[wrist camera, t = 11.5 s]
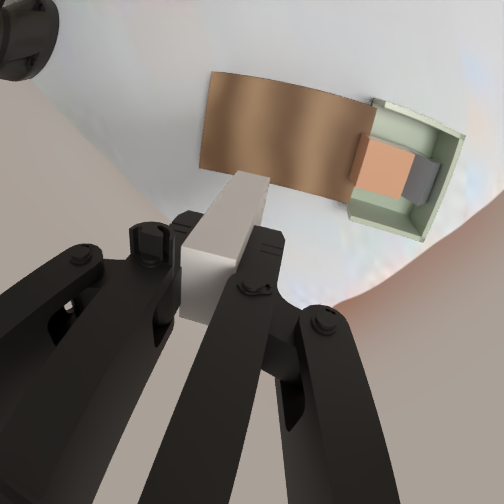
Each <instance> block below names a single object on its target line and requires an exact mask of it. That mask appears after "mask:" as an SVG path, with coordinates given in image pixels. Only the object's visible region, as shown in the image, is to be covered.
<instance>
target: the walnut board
mask: <svg viewBox="0 0 504 504" xmlns="http://www.w3.org/2000/svg"><path fill="white" fill-rule="evenodd" d="M376 111H377V108H375V107H373V106H371V105H368V104H365V103H362V102H358V101H355V100H352V99H349V98H345V97H342V96H338V95H335V94H331V93H327V92H324V91H320V90H316V89H312V88H307V87H303V86H299V85H294V84H290V83H285V82H280V81H275V80H270V79H264V78H258V77H252V76H246V75H239V74H232V73H224V72H212V74H211V81H210V87H209V94H208V100H207V107H206V114H205V122H204V129H203V137H202V145H201V153H200V162H199V168H202V169H207V170H212V171H216V172H221V173H226V174H231V175H235V173H236V172H237V171H243V172H247V173H252V174H256V175H261V176H265V177H270V182H269V183H270V184H275V185H279V186H283V187H287V188H291V189H295V190H299V191H303V192H306V193H310V194H314V195H318V196H322V197H325V198H329V199H332V200H336V201H340V202H343V203H347V204H349V201H350V198H351V195H352V192H353V189H354V185H353V183H352V181H351V180H350V178H349V175H350V172H351V169H352V165H353V162H354V158H355V155H356V152H357V148H358V145H359V141H360V138H361V134H362V133H364V134H368V135H370V133H371V130H372V126H373V123H374V119H375V115H376Z"/></svg>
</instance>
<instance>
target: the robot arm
mask: <svg viewBox="0 0 504 504" xmlns="http://www.w3.org/2000/svg"><path fill="white" fill-rule="evenodd" d="M4 2H5V0H0V79H3V80H9V81H22V80H26V79H30V78H32V77H34V76H35V75H36V74H37V73H39V72H40V70H41V69H42V68H43V67H44V65H45V64H46V62H47V61H48V59H49V57H50V55H51V53H52V51H53V48H54V45H55V42H56V38H57V34H58V27H59V16H58V11H57V8H56V5H55V4H54V2H53V1H52V0H22V1H20V2H17V3H14V4H11V5H9V6H6V7H2V6H3V4H4ZM269 182H270V177H265V176H261V175H256V174H252V173H247V172H243V171H237V172H236V173H235V175H234V176H233V177H232V178H231V180H230V181H229V182H228V184H227V185H226V186H225V187H224V189H223V190H222V191H221V193H220V194H219V195H218V197H217V198H216V199H215V201H214V202H213V203H212V205H211V206H210V207H209V209H208V210H207V211H206V213H205V214H202V213H198V212H193V211H189V210H188V211H186V212H184V213H182V214H179V215H178V216H177V217H176V218H175V219H174V220H173V221H172V224H170V225H169V226H168V225H166V224H163V223H160V222H143V223H139V224H136V225H134V226H132V227H131V228H129V237H130V252H131V254H130V255H129V257H127V259H126V260H113V259H103V254H102V250H101V249H100V248H99V247H98V246H96V245H93V244H78V245H75V246H72V247H70V248H68V249H67V250H65V251H63V252H62V253H60V254H59V255H57V256H56V257H54V258H53V259H51V260H50V261H48V262H46V263H45V264H44V265H42V266H40V267H39V268H38V269H36V270H35V271H33V272H32V273H30V274H29V275H27V276H26V277H24V278H23V279H22V280H20V281H19V282H17V283H16V284H15V285H13V286H12V287H10V288H9V289H8V290H6V291H5V292H4V293H2V294H1V295H0V504H92V503H93V500H94V498H95V496H96V493H97V491H98V488H99V486H100V484H101V481H102V479H103V477H104V475H105V472H106V470H107V468H108V465H109V463H110V461H111V458H112V456H113V454H114V452H115V450H116V447H117V445H118V443H119V441H120V438H121V436H122V434H123V432H124V430H125V427H126V425H127V423H128V421H129V419H130V417H131V415H132V412H133V410H134V408H135V406H136V404H137V402H138V400H139V398H140V395H141V393H142V391H143V389H144V387H145V385H146V383H147V381H148V379H149V377H150V375H151V373H152V371H153V369H154V366H155V364H156V362H157V360H158V358H159V356H160V354H161V352H162V350H163V348H164V346H165V344H166V342H167V340H168V338H169V336H170V334H171V332H172V330H173V327H174V315H175V313H176V311H177V309H178V308H179V306H180V311H179V314H180V315H179V316H180V317H182V318H185V319H188V320H192V321H195V322H199V323H202V324H206V325H209V326H208V328H207V331H206V333H205V335H204V338H203V340H202V343H201V345H200V348H199V350H198V353H197V355H196V358H195V360H194V363H193V365H192V367H191V370H190V372H189V375H188V378H187V380H186V382H185V385H184V387H183V390H182V392H181V395H180V398H179V400H178V403H177V405H176V407H175V410H174V412H173V415H172V417H171V420H170V422H169V425H168V427H167V430H166V432H165V435H164V438H163V440H162V443H161V445H160V448H159V450H158V453H157V455H156V458H155V460H154V463H153V466H152V468H151V471H150V473H149V476H148V478H147V481H146V484H145V486H144V489H143V491H142V494H141V497H140V499H139V502H138V504H228V503H229V500H230V496H231V492H232V488H233V484H234V481H235V477H236V473H237V469H238V465H239V461H240V457H241V453H242V449H243V444H244V440H245V436H246V432H247V428H248V423H249V419H250V415H251V411H252V406H253V402H254V398H255V393H256V389H257V384H258V380H259V375H260V371H261V369H262V370H263V371H265V372H267V373H269V374H271V375H272V376H274V377H275V386H276V394H277V403H278V413H279V422H280V431H281V439H282V449H283V459H284V468H285V478H286V487H287V497H288V504H400V500H399V495H398V491H397V486H396V482H395V478H394V474H393V470H392V465H391V461H390V457H389V453H388V450H387V446H386V443H385V438H384V435H383V432H382V428H381V424H380V421H379V417H378V414H377V410H376V407H375V403H374V400H373V397H372V394H371V390H370V387H369V384H368V381H367V378H366V375H365V371H364V368H363V365H362V362H361V359H360V356H359V353H358V350H357V347H356V344H355V341H354V339H353V335H352V333H351V330H350V327H349V324H348V322H347V321H346V319H345V317H344V316H343V315H342V314H340V313H339V312H338V311H337V310H335V309H333V308H331V307H329V306H324V305H310V306H308V307H306V308H304V309H303V310H301V309H299V308H297V307H295V306H293V305H291V304H290V303H288V302H287V301H286V300H285V299H283V298H282V296H281V295H280V293H279V291H278V288H277V281H278V276H279V271H280V266H281V260H282V255H283V249H284V244H285V238H284V236H283V234H282V232H281V231H277V230H273V229H269V228H265V227H261V226H260V225H261V220H262V215H263V211H264V206H265V201H266V197H267V192H268V187H269ZM70 300H71V303H72V306H73V307H72V308H71V309H69V310H65V308H64V305H65V304H67V303H68V302H69V301H70Z"/></svg>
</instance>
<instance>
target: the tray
mask: <svg viewBox="0 0 504 504" xmlns="http://www.w3.org/2000/svg"><path fill="white" fill-rule="evenodd" d="M372 106H373V107H375V108H377V111H376V115H375V119H374V123H373V126H372V130H371V133H370V135H371V136H374V137H377V138H380V139H383V140H386V141H389V142H392V143H395V144H402V145H406V146H408V147H410V148H412V149H414V150H416V151H418V152H420V153H422V154H424V155H426V156H428V157H430V158H432V159H434V160H436V161H438V162H440V163H442V164H441V167H440V170H439V172H438V175H437V178H436V180H435V183H434V186H433V188H432V191H431V193H430V196H429V198H428V201H427V203H425V204H422V205H419V206H417V205H416V204H414V203H412V202H411V201H409V200H407V199H405V198H404V197H402V196H400V199H395V198H392V197H388V196H385V195H381V194H378V193H374V192H371V191H367V190H363V189H360V188H356V187H355V186H354V189H353V192H352V195H351V198H350V201H349V204H347V203H346V208H347V212H348V217H349V220H350V221H353V222H357V223H360V224H364V225H367V226H370V227H374V228H377V229H380V230H384V231H387V232H390V233H394V234H397V235H400V236H403V237H407V238H410V239H413V240H416V241H419V242H422V243H424V241H425V239H426V236H427V234H428V232H429V230H430V228H431V226H432V223H433V221H434V219H435V217H436V214H437V212H438V210H439V207H440V205H441V203H442V200H443V198H444V195H445V193H446V190H447V188H448V185H449V183H450V180H451V177H452V175H453V172H454V169H455V166H456V164H457V161H458V158H459V155H460V152H461V149H462V146H463V143H464V140H465V137H466V136H465V135H463V134H461V133H459V132H457V131H455V130H453V129H451V128H449V127H447V126H445V125H443V124H440V123H438V122H436V121H434V120H432V119H429V118H427V117H425V116H422V115H420V114H418V113H415V112H413V111H410V110H408V109H405V108H403V107H400V106H397V105H395V104H392V103H389V102H387V101H383V100H380V99H376V98H374V100H373V104H372Z"/></svg>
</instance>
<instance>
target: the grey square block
mask: <svg viewBox="0 0 504 504" xmlns="http://www.w3.org/2000/svg"><path fill="white" fill-rule="evenodd" d="M398 145H401V146H403V147H405V148H407V149H408V150H410V151H411V152H412V153H414V154H415V157H414V160H413V163H412V166H411V169H410V172H409V174H408V177H407V180H406V183H405V186H404V188H403V191H402V194H401V196H402V197H404V198H405V199H407V200H409V201H411V202H412V203H414V204H416V205H417V206H419V205H422V204H425V203H427V201H428V198H429V196H430V193H431V191H432V188H433V186H434V183H435V180H436V178H437V175H438V172H439V170H440V167H441V164H442V163H440V162H438V161H436V160H434V159H432V158H430V157H428V156H426V155H424V154H422V153H420V152H418V151H416V150H414V149H412V148H410V147H408V146H406V145H402V144H398Z"/></svg>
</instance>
